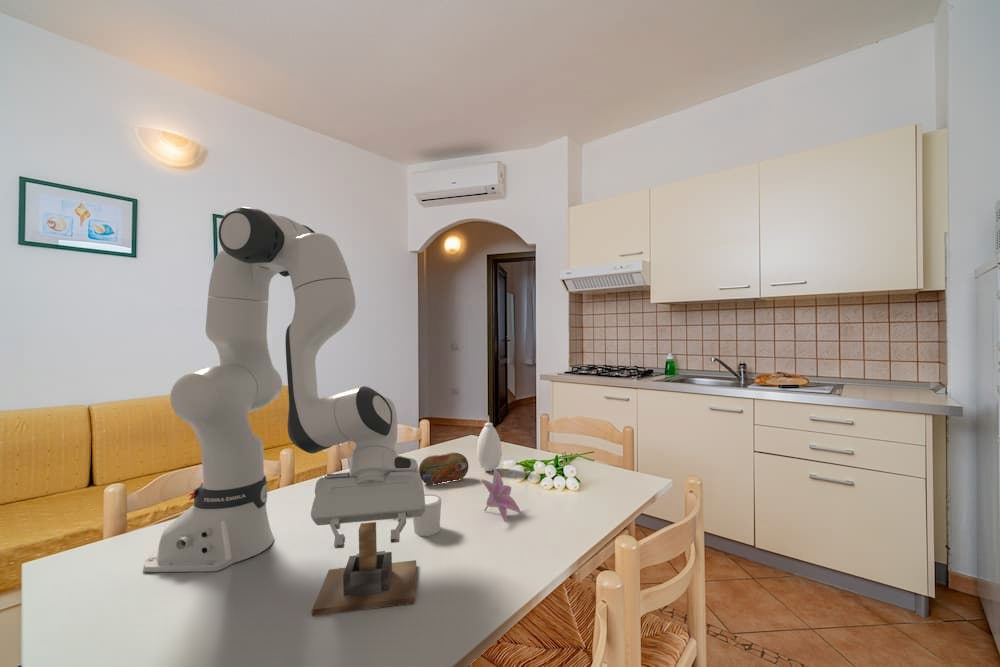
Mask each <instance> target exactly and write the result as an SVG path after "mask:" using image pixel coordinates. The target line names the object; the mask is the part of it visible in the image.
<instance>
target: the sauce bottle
mask: <svg viewBox="0 0 1000 667" xmlns="http://www.w3.org/2000/svg"><path fill="white" fill-rule="evenodd" d="M502 451H503V449H502V442H501V439H500V435H499V433H498V431H497V430H496V428H495V427H494V424H493V423H492V422H490V416H489V415H487V422H486V423H485V422H484V427H483V428H482V429H481V431H480V433H479V436H478V440H477V445H476V456H477V460H478V463H479V465H480V468H482V469H484V471H486V472H488V471H491V472H493V471H494V469H496V468H498V467H499V466H500V462H501V460H502V454H503V452H502ZM492 470H493V471H492Z"/></svg>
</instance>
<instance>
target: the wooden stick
mask: <svg viewBox="0 0 1000 667" xmlns="http://www.w3.org/2000/svg"><path fill="white" fill-rule="evenodd" d="M377 548H378V547H377V522H376V521H373V522H372V521H370V522H362V523H360V526H359V528H358V554H359V569H360V571H364V570H374V569H377V552H378V551H377V550H378V549H377Z"/></svg>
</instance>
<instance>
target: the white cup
mask: <svg viewBox="0 0 1000 667" xmlns="http://www.w3.org/2000/svg"><path fill="white" fill-rule="evenodd" d="M424 496H425V512H424V513H423V515H422V516H420V517H412V524H413V530H414V534H415V535H417V536H421V537H423V536H424V537H427V536H432V535H435V534H437V533H438V532H439V531H440V526H441V524H440V523H441V514H442V512H441V510H442V509H441V508H442V497H441V496H440V495H437V494H430V493H427V494H424Z"/></svg>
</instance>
